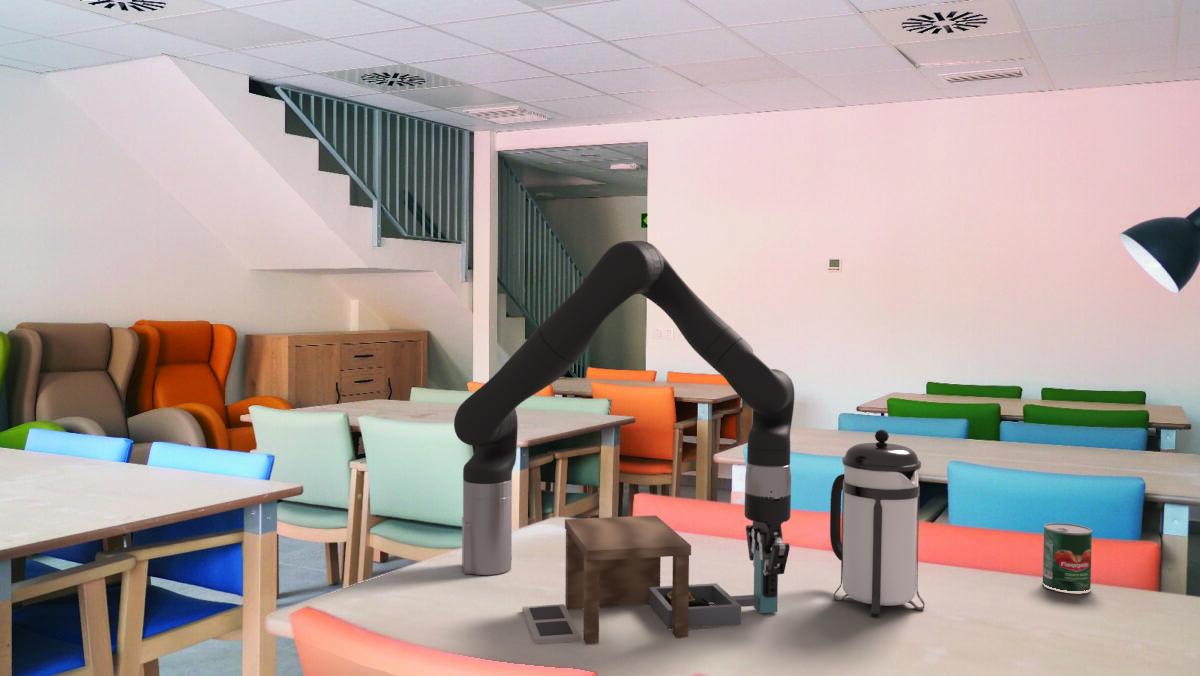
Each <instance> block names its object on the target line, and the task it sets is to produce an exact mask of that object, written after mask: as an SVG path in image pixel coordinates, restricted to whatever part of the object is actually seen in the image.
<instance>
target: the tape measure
mask: <svg viewBox="0 0 1200 676" xmlns="http://www.w3.org/2000/svg"><path fill="white" fill-rule="evenodd" d="M664 599H665V600H666V601H667V602H668V603H669V604H670V605H671V607H672V591H671V592H669V593H667V594H666V595H665V598H664ZM699 606H711V603H708V602H707V601H706V600H705V599H703V598H702V597H701V596H699V595H698V594H697V593H695V592H694V591H692V590H689V607H699Z"/></svg>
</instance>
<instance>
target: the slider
mask: <svg viewBox="0 0 1200 676" xmlns="http://www.w3.org/2000/svg"><path fill="white" fill-rule="evenodd" d="M766 555H771V553H766ZM768 564H769V561H768ZM753 568H754V569H753V594H747V595H746V594H745V595H730V593H728V592H727V591H725V590H724V588H723V587H721V586H720V585H719V584H718V583H717V582H715V583H701V584H700V583H698V584H689V590H692V591H694V592H695V593H697V594H698V595H699V596H701V597H702V598H703V599H705V600H706V601H707V602H708V603H709V604H713V605H710V606H699V607H688V629H695V628H697V629H698V628H711V627H724V626H725V627H726V626H738V625H739V626H740V625H742V608H743V607H746V608H747V607H753V608H754V609H755V610H756V611H757V612H758V613H759V614H768V613H778V602H779V601H778V592H779V589H778V587H779V584H778V583H779V579H778V578H779V575H777V596H776V597H771V598H766V597H765V596H763V574H764V573H763V561H762V560H761V559H760V551H759V549H758V548H757V549H755V555H754V566H753ZM671 591H672V585H667V586H666V585H665V586H664V585H663V586H660V587H649V605H648V606H649V608H650V609H651V610H652V611H653V612H654V615H656V616H657V617H658V619H659V620H660V621H661V622H662V624H663V625H664V627H666V629H667V630H672V607H671V605H670V604H669V603H668V602H667V601H666V600H665V599H664V598H665V595H666V594H667V593H669V592H671Z"/></svg>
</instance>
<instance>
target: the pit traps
mask: <svg viewBox="0 0 1200 676" xmlns="http://www.w3.org/2000/svg"><path fill="white" fill-rule="evenodd" d="M521 609H522V610H521V612H522V614H523V617H524V620H525V622H526V625H527V627H528V631H529V633H530V635H531V638H532V641H533V643H534V645H545V644H547V645H548V644H560V643H573V642H581V641H582V637H581V634H580V632H579V630H578V628H577V626H576V624H575V622H574V620H573V619H572V616H571V615H570V613H569V610H567V608H566V606H565V603H561V604H560V603H559V604H548V605H547V604H545V605H531V606H529V605H528V606H522V607H521Z"/></svg>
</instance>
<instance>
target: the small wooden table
mask: <svg viewBox="0 0 1200 676" xmlns="http://www.w3.org/2000/svg"><path fill="white" fill-rule="evenodd" d="M564 530H565V594H564V595H565V597H564V598H565V600H564V601H565V603H564V605H565V607H566V609H567V611H569V610H583V616H582V617H583V618H582V619H583V622H582V623H583V624H582V625H583V631H582V633H583V636H582V637H583V638H582V640H583V641H584V644H585V645H597V644H598V645H599V644H600V608H601V609H602V608H613V607H614V608H615V607H631V606H647V605H648V606H649V587H661V558H663V557H672V580H671V581H672V585H671V586H672V629H671V634H672V636H673V637H674V638H675V639H681V638H684V639H685V638H689V628H688V607H689V585H690V584H689V583H690V582H689V581H690V556H692V545H691V544H690V543H689V542H688V541H686V540H685V539H684V538H683V537H682V536H681V535H679V534H678V533H677V532H676V531H675V530H674V529H673V528H671V526H670V525H668V524H667V523H666V522H664V520H662V519H661V518H660V516H658V515H633V516H614V517H613V516H611V517H592V518H591V517H589V518H587V517H586V518H585V517H584V518H565V519H564Z"/></svg>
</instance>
